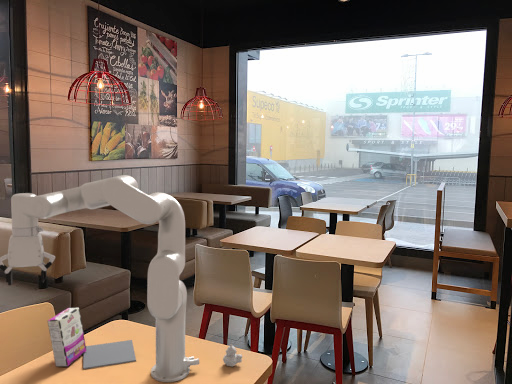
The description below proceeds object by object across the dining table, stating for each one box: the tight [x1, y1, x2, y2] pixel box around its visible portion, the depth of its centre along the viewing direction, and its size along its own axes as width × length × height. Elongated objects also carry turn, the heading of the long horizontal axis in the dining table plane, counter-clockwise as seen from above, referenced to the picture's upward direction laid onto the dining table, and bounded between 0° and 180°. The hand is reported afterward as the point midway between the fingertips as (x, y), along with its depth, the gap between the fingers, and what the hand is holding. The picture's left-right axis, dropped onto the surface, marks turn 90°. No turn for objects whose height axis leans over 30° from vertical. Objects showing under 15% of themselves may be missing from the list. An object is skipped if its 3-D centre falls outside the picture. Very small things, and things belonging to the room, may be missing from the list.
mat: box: [82, 339, 137, 370], centre depth 153 cm, size 17×16×1 cm
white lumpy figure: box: [222, 342, 243, 367], centre depth 147 cm, size 5×7×8 cm
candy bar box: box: [47, 307, 87, 368], centre depth 147 cm, size 11×5×16 cm, turn 168°
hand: (26, 282), depth 140 cm, fingers open, 9 cm apart
